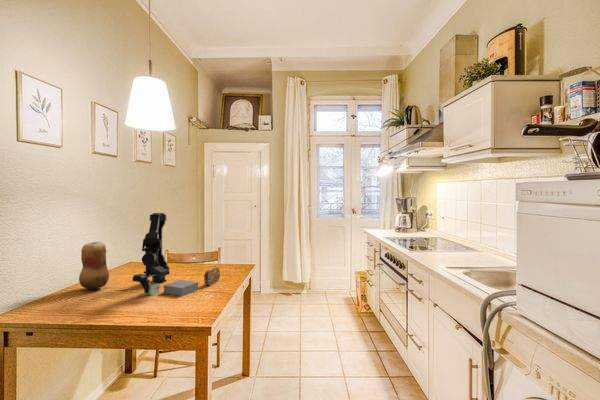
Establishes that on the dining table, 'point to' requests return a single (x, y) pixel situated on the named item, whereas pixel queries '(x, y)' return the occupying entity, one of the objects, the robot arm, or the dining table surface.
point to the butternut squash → (94, 266)
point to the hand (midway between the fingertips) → (151, 291)
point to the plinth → (180, 287)
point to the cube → (152, 289)
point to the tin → (211, 276)
